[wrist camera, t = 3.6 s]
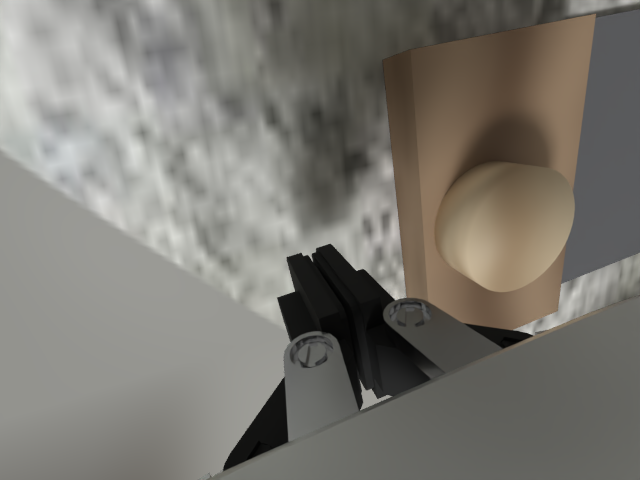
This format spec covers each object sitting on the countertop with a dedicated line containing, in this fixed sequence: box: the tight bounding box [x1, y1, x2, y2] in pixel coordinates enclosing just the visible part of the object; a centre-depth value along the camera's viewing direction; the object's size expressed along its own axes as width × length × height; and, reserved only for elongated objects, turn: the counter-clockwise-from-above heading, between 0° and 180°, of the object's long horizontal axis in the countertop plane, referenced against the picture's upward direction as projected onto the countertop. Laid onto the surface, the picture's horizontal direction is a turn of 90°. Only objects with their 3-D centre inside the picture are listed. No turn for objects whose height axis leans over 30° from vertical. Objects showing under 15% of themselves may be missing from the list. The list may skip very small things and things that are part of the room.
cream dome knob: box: [434, 161, 575, 292], centre depth 13 cm, size 5×5×2 cm
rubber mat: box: [561, 9, 640, 284], centre depth 17 cm, size 9×14×1 cm, turn 11°
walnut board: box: [383, 14, 596, 330], centre depth 15 cm, size 8×14×2 cm, turn 11°
